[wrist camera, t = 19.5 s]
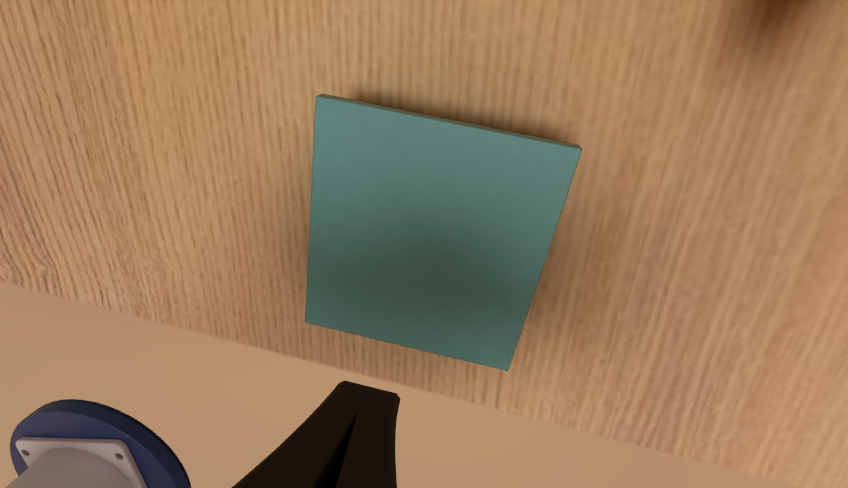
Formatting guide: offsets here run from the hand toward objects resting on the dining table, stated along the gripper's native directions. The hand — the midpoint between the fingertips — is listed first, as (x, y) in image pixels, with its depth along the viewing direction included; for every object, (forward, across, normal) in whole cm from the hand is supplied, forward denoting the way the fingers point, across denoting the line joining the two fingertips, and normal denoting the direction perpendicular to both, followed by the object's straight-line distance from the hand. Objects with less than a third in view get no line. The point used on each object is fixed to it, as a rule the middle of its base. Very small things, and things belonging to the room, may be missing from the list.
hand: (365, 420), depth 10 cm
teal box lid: (+8, 0, -1) cm, 8 cm away
